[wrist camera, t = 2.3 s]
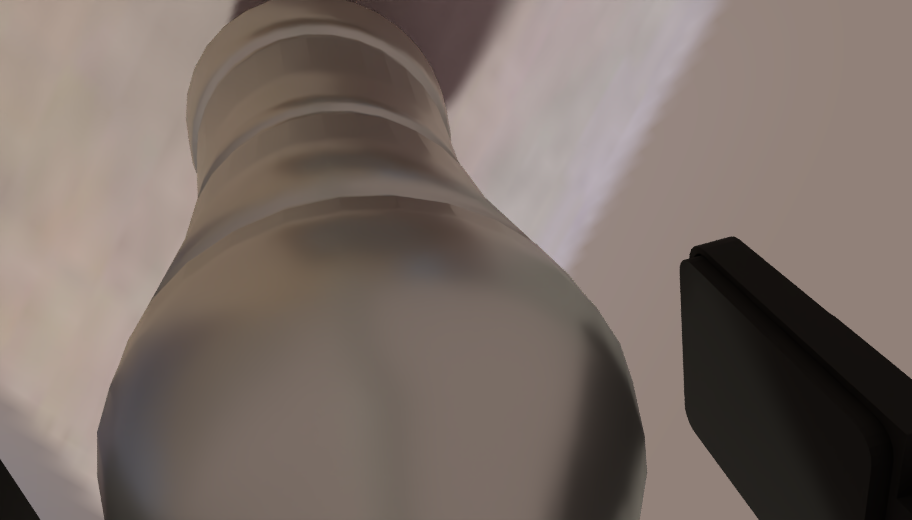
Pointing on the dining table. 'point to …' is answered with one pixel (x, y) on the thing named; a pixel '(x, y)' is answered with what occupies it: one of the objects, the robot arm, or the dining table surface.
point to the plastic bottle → (357, 312)
